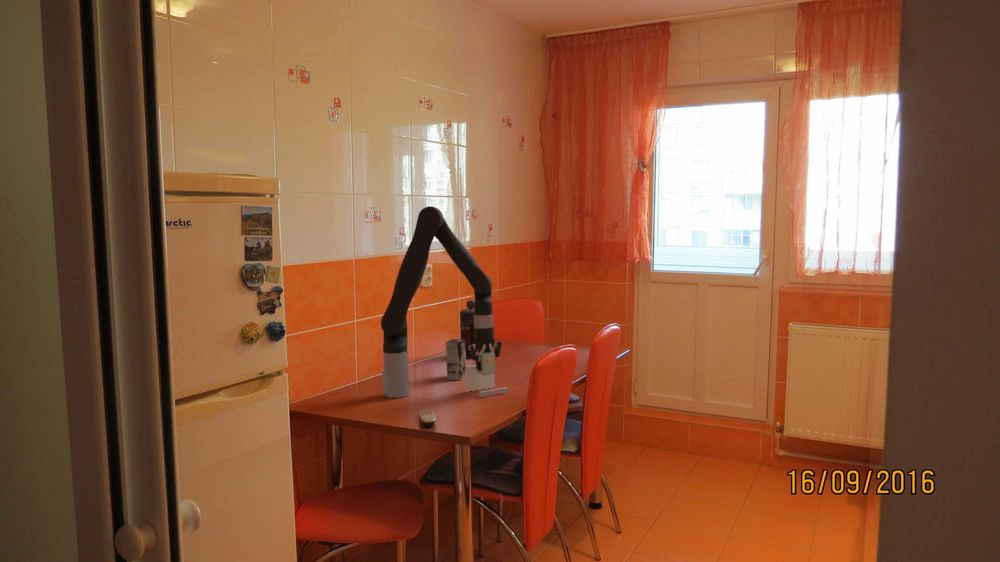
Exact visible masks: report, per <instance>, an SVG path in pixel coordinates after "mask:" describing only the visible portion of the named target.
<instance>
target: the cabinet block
mask: <svg viewBox="0 0 1000 562" xmlns="http://www.w3.org/2000/svg"><path fill="white" fill-rule="evenodd" d="M476 370H477V369H476ZM477 373H479V374H481V375H490V374H494V375H495V374H496V358H495V353H490V352H485V353H483V354H482V355H481V371H478V370H477Z"/></svg>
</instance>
